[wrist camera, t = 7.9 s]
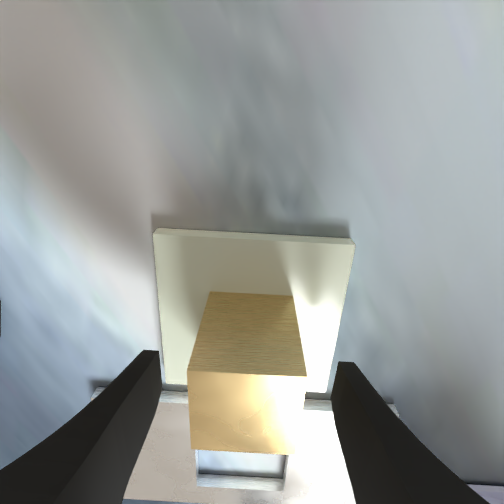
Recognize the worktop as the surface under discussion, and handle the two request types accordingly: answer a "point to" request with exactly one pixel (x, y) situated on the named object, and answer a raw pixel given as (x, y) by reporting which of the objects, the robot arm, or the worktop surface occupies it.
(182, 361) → the tile
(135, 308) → the worktop surface
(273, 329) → the light wood cube
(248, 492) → the rail plate
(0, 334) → the liquor
